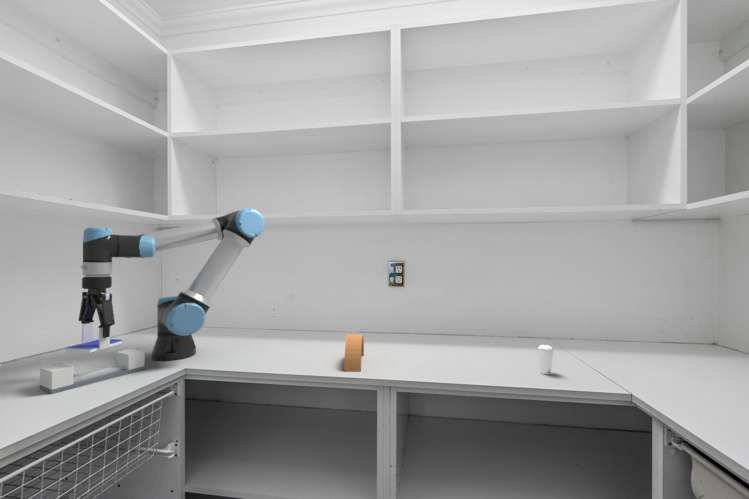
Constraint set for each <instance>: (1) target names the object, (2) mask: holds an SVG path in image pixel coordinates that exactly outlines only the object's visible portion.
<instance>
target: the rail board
mask: <svg viewBox="0 0 749 499" xmlns="http://www.w3.org/2000/svg"><path fill="white" fill-rule="evenodd" d="M145 354H146V352H145V350H141V349H135V348H128V349H122V350H117V351H116V352H115V365H113V366H109V367H104V368H100V369H97V370H91V371H88V372H84V373H79V374H76V375H74V366H71V365H67V364H66V363H62V362H61V363H56V364H52V365H47V366H41V367H40V368H39V370H40V371H39V389H40V390H41V391H44V392H46V393H48V394H51V395H53V394H57V393H60V392H64V391H67V390H72V389H77V388H80V387H84V386H88V385H91V384H94V383H98V382H102V381H105V380H110V379H114V378H117V377H122V376H125V375H129V374H132V373H136V372H140V371H143V370H145Z"/></svg>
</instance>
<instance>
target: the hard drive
mask: <svg viewBox="0 0 749 499" xmlns="http://www.w3.org/2000/svg"><path fill="white" fill-rule="evenodd" d="M123 341H124V340H123V339H118V338H117V339H113V338H110V347H108V348H111V347H115V346H118V345H122V344H123V343H124V342H123ZM108 348H107V349H108ZM105 349H106V348H102V349H99V339H95V340H93V341H91V342H87V343H83V344H82V343H80V344H75V345H72V346H67V347H65V348H64V351H65V353H69V354H70V353H73V354H75V353H76V354H90V353H93V352H98V351H101V350H105Z"/></svg>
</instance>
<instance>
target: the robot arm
mask: <svg viewBox="0 0 749 499" xmlns="http://www.w3.org/2000/svg"><path fill="white" fill-rule="evenodd" d="M265 226H266V223H265V219H264V215H263V214H261V212H259V211H258V210H257V209H254V208H247V207H246V208H242V209H240V210H239V209H238V210H237V211H236V210H235V211H232V212H230V213H227V214H225V215H222V216H221V215H220V216H219V217H218V216H217V217H213V218H212V219H211V220H209V221H205V222H200V223H195V224H194V223H193V224H189V225H185V226H178V227H174V228H167V229H163V230H159V231H158V230H157V231H153V232H148V233H143V234H137V235H133V234H130V235H129V234H128V235H127V234H125V235H124V234H115V233H114V231H113V229H112V228H110V227H109V228H108V227H87V228H85V229H84V230H83V236H82V237H83V238H82V265H81V266H80V268H81V269H82V275H83V276H82V279H81V288H82V289H84V290H87V291H82V292H81V303H80V308H79V309H80V310H79V316H78V321H79V322H81V324H82V328H81V344H83V343H87V342H91V341H94V323H95V320H94V319H93V318H94V317H95V313H96V312H97V316H98V320H99V325H98V327H97V328H98V340H99V349H102V348H105V349H108V347H109V348H111V347H110V339H111V327H112V326H113V325H115V324H116V321H115V315H114V306H113V293H110V292H109V293H107V289H110V288H112V284H113V283H112V280H113V279H112V278H113V277H112V276H111V275H112V274H113V258H116V259H117V258H126V259H130V258H134V259H135V258H137V259H138V258H139V259H141V258H142V259H145V258H153V257H154V256H155V254H156V253H159V252H162V251H163V252H164V251H167V250H172V249H176V248H180V247H185V246H190V245H193V244H194V245H195V244H198V243H203V242H209V241H213V240H218V241H220V242H219V243H218V244H217V246H216V247H215V249H214V250H213V251H212V254H211V255H210V256H209V258H208V259H207V261H206V262H205V264H204V265H203V267H201V269H200V271H199V272H198V274H197V275H196V277H195V278H194V279H193V281H192V282H191V284H190V285H189V287H188V289H186V290H182V291H180V292H179V294H178V295H175V296H166V297H165V296H163V297H160V298H158V300H157V305H156V307H157V332H156V333H157V334H156V335H157V336H156V340H155V343H154V346H153V348H152V351H151V359H152V360H154V361H175V360H180V359H186V358H190V357H192V356H195V355H196V353H197V346H196V344H195V341H194V338H193V334H196V333H197V332H199V331H200V330H201V329H202V328H203V326H204V324H205V321H206V314H207V313H208V311H209V310H210V308H211V304H210V300H211V299H212V297H213V296H214V294H215V293H216V291H217V290H218V288H219V286H220V285H221V284H222V282H223V280H224V279H225V278H226V276H227V274H228V273H229V271H230V270H231V267H233V265H234V264H235V262H236V260H237V259H238V257H239V256H240V254H241V253H242V251H243V249H245V248H249V247H251V244H252V243H253V241H254V240H255V238H257V237H259V236H260V235H261V234H262V233H263V232H264V231H265ZM102 350H103V349H102Z"/></svg>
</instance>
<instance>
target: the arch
mask: <svg viewBox="0 0 749 499" xmlns="http://www.w3.org/2000/svg"><path fill="white" fill-rule="evenodd" d="M364 338H365V337H364V335H363V334H347V335H346V339H345V347H344V361H343V362H344V363H343V364H344V367H343V368H344V370H343V371H344V372H362V356H365V340H364Z"/></svg>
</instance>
